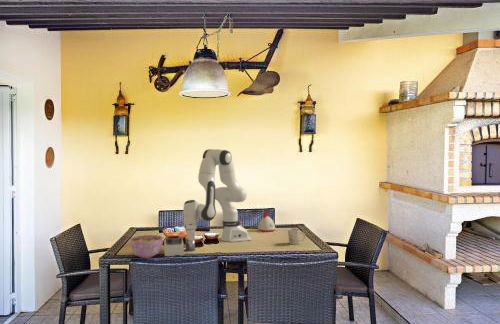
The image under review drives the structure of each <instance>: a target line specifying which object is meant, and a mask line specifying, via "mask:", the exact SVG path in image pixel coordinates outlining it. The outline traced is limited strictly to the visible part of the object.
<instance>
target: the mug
mask: <svg viewBox="0 0 500 324" xmlns="http://www.w3.org/2000/svg"><path fill="white" fill-rule="evenodd" d="M300 234H302V235H303V238H302V239H299V238H300V237H299V236H300ZM287 235H288V242H289V243H288V244H290V245H297V244H299V242H303V241H304V240H306V237H307V236H306V234H305V232H303V231H300V228H293V227H292V228H288V229H287Z"/></svg>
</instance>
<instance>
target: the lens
mask: <svg viewBox="0 0 500 324" xmlns="http://www.w3.org/2000/svg"><path fill="white" fill-rule="evenodd" d="M195 250H196V237H195V236H194V241H192V247H190V246H189V241H188V236H187V235H185V251H186V252H194V251H195Z"/></svg>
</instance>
